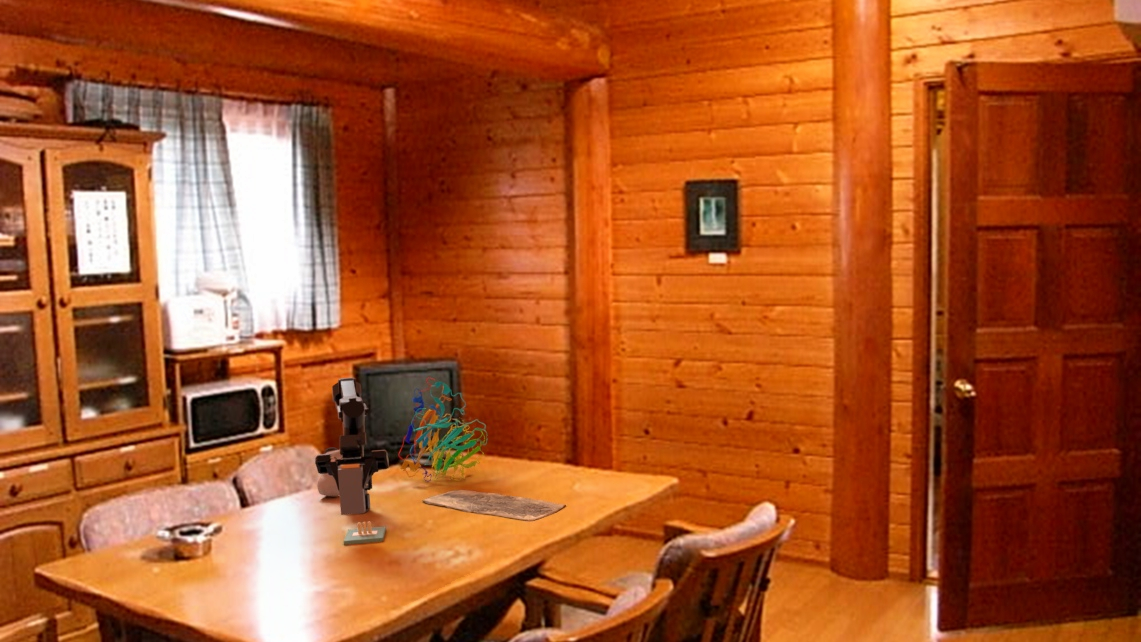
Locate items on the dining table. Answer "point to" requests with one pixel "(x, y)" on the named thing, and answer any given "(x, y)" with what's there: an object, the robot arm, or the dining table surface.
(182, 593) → the dining table surface
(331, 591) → the dining table surface
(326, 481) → the figurine
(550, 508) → the relief sculpture
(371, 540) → the board
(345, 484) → the block
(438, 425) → the protein model
